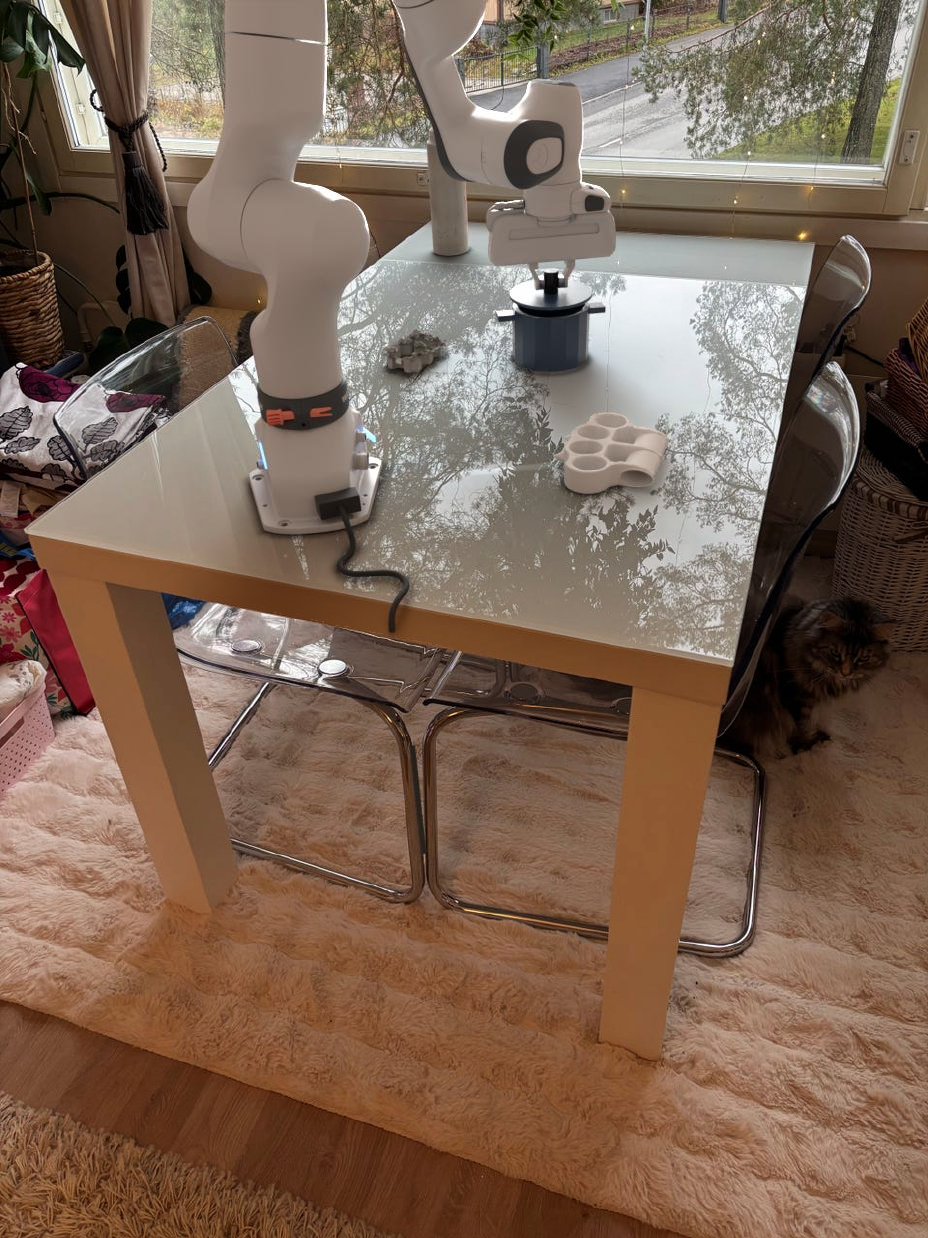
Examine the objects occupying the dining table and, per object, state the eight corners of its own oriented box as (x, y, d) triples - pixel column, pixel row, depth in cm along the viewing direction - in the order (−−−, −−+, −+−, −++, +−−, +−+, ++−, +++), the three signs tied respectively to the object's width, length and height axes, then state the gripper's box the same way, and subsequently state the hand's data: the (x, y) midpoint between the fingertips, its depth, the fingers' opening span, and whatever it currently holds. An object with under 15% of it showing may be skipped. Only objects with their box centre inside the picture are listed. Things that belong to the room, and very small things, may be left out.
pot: (610, 369, 155) (613, 313, 149) (504, 379, 154) (503, 323, 148) (593, 340, 165) (595, 287, 159) (492, 349, 164) (491, 296, 158)
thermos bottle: (468, 243, 212) (463, 105, 194) (468, 254, 206) (462, 112, 188) (433, 245, 212) (425, 107, 195) (432, 256, 206) (423, 114, 188)
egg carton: (413, 378, 156) (411, 355, 154) (379, 369, 160) (376, 346, 157) (451, 355, 163) (450, 333, 160) (417, 347, 166) (415, 325, 164)
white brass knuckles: (647, 503, 122) (540, 488, 127) (671, 440, 135) (573, 428, 140) (649, 481, 120) (540, 466, 124) (673, 419, 133) (574, 407, 137)
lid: (601, 309, 148) (602, 280, 145) (516, 317, 147) (516, 288, 145) (582, 281, 159) (583, 253, 156) (503, 288, 158) (503, 260, 155)
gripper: (488, 208, 140) (490, 300, 149) (621, 197, 142) (616, 288, 150) (482, 197, 145) (485, 286, 154) (611, 187, 147) (606, 276, 155)
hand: (551, 287), depth 152 cm, fingers closed on lid, 2 cm apart
